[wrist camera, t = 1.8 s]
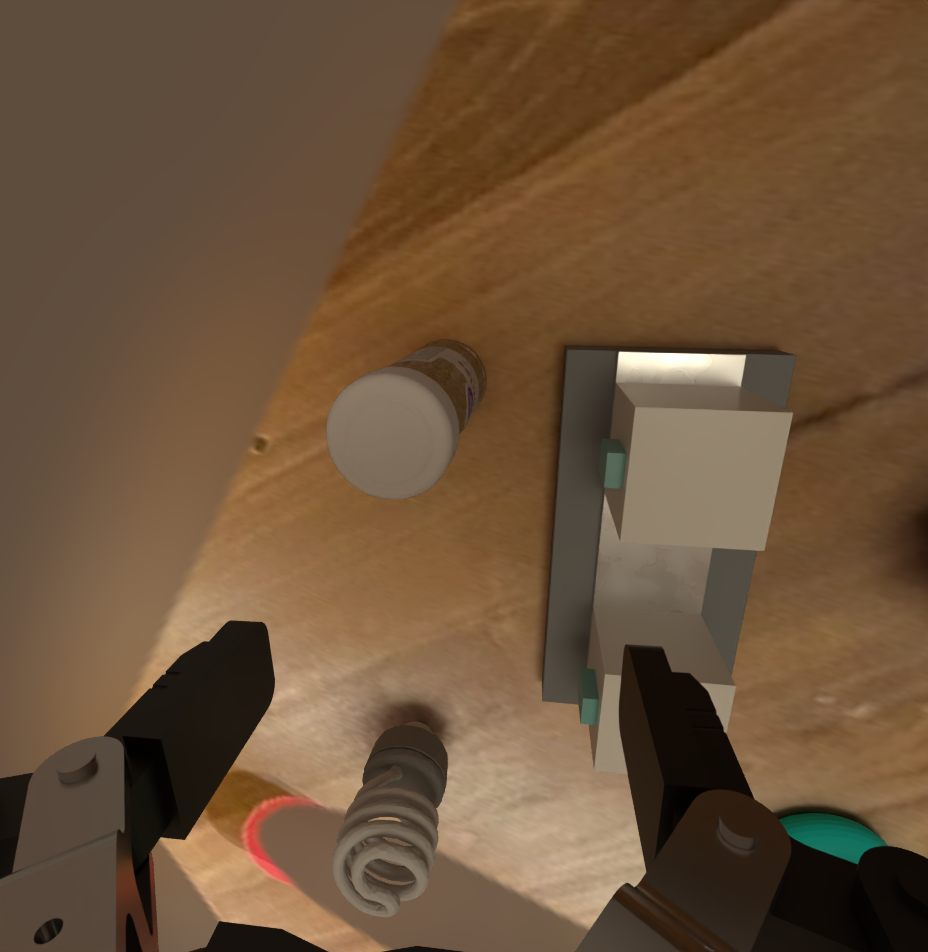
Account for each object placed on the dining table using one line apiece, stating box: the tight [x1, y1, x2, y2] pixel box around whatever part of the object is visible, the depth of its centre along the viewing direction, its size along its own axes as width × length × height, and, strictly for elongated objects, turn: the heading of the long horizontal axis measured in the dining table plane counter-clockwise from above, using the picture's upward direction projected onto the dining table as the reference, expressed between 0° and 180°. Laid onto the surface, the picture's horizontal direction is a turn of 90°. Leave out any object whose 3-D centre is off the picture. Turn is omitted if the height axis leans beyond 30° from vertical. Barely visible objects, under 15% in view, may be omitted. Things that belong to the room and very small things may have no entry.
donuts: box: [779, 813, 888, 864], centre depth 35 cm, size 10×10×10 cm
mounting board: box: [542, 346, 796, 705], centre depth 32 cm, size 22×11×2 cm, turn 179°
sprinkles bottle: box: [326, 340, 486, 499], centre depth 25 cm, size 5×5×14 cm
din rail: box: [586, 351, 746, 668], centre depth 31 cm, size 22×6×1 cm, turn 179°
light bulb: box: [332, 721, 448, 917], centre depth 34 cm, size 6×6×12 cm
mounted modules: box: [577, 382, 793, 774], centre depth 28 cm, size 19×7×6 cm, turn 179°
